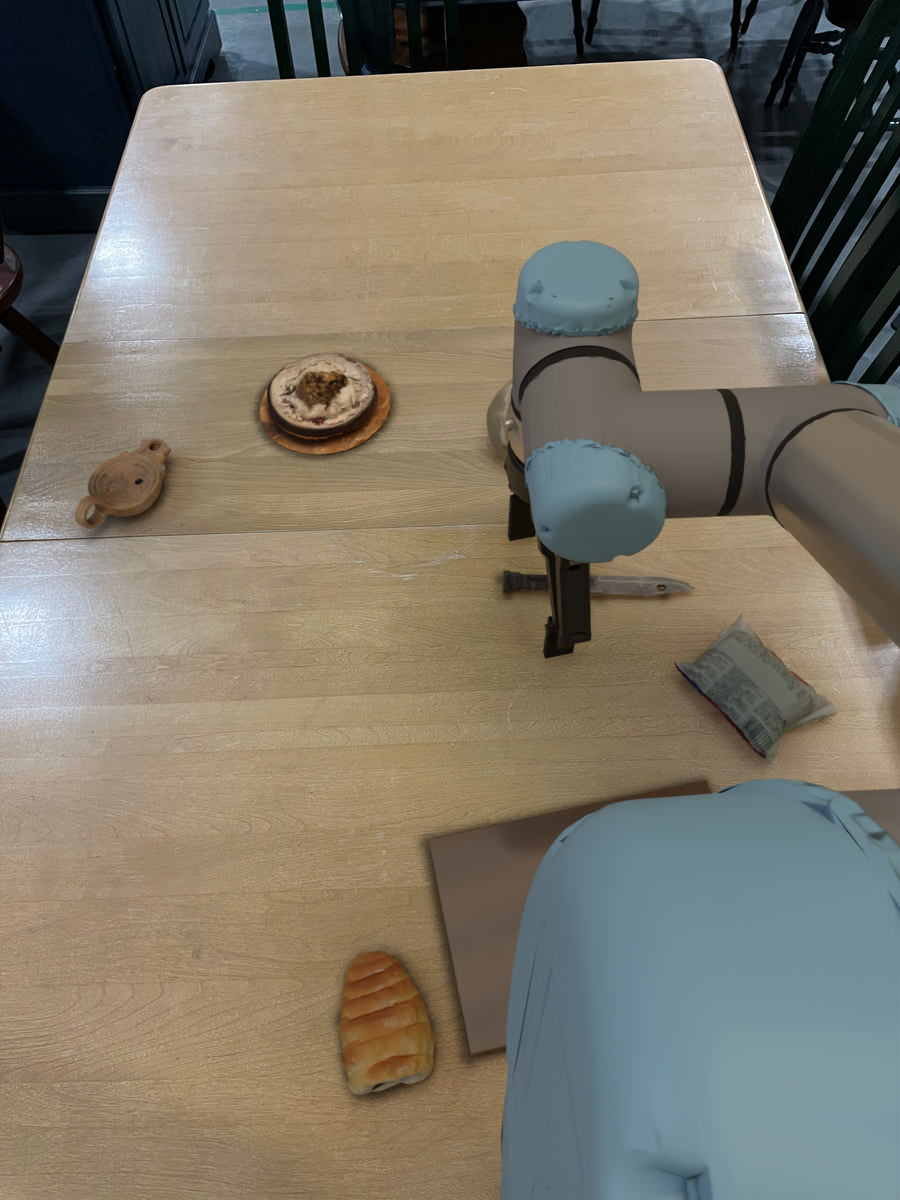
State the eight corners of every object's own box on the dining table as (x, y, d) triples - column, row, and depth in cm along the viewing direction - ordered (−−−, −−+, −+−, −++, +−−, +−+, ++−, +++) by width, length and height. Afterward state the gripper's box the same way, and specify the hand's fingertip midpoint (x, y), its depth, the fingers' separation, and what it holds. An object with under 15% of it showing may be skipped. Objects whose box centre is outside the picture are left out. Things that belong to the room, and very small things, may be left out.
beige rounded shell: (503, 486, 94) (479, 443, 85) (486, 423, 97) (461, 375, 88) (585, 458, 92) (570, 411, 83) (565, 394, 95) (548, 343, 86)
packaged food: (735, 628, 81) (749, 601, 77) (831, 721, 76) (851, 698, 71) (666, 676, 78) (677, 650, 74) (760, 776, 73) (777, 755, 69)
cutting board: (778, 982, 64) (783, 980, 63) (470, 1056, 62) (470, 1054, 61) (703, 784, 73) (706, 779, 72) (428, 843, 71) (428, 839, 70)
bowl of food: (273, 468, 93) (266, 441, 89) (249, 376, 100) (241, 349, 97) (403, 436, 95) (401, 409, 91) (370, 349, 103) (366, 321, 99)
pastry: (327, 967, 66) (320, 959, 62) (412, 942, 67) (409, 932, 63) (353, 1103, 61) (346, 1101, 58) (443, 1074, 62) (442, 1071, 58)
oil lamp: (146, 445, 95) (131, 414, 91) (198, 470, 93) (185, 439, 89) (64, 528, 89) (43, 497, 85) (117, 556, 87) (99, 527, 83)
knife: (695, 560, 83) (700, 604, 80) (690, 571, 84) (695, 614, 82) (503, 554, 84) (502, 597, 81) (503, 566, 85) (502, 608, 83)
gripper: (473, 338, 70) (472, 499, 88) (554, 587, 57) (534, 716, 75) (561, 324, 71) (542, 486, 89) (660, 567, 58) (615, 699, 76)
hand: (538, 592), depth 82 cm, fingers open, 13 cm apart
